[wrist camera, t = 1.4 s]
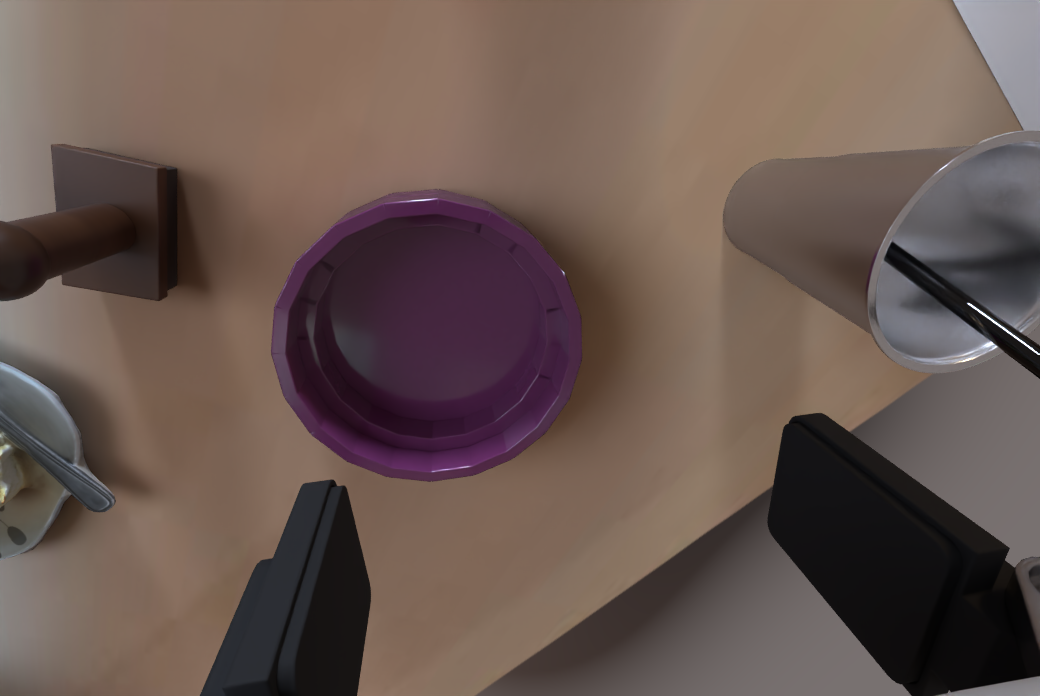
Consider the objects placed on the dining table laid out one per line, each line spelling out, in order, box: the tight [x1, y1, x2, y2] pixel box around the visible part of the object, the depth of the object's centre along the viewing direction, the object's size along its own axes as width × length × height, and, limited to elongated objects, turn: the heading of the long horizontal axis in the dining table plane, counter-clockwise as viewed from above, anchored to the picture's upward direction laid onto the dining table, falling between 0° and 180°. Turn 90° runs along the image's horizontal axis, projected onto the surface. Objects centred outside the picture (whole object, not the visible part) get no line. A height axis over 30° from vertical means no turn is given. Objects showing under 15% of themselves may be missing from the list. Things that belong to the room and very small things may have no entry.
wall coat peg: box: [0, 144, 177, 301], centre depth 24 cm, size 7×5×12 cm, turn 166°
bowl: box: [271, 189, 582, 482], centre depth 32 cm, size 18×18×6 cm
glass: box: [723, 130, 1040, 379], centre depth 21 cm, size 11×11×30 cm
